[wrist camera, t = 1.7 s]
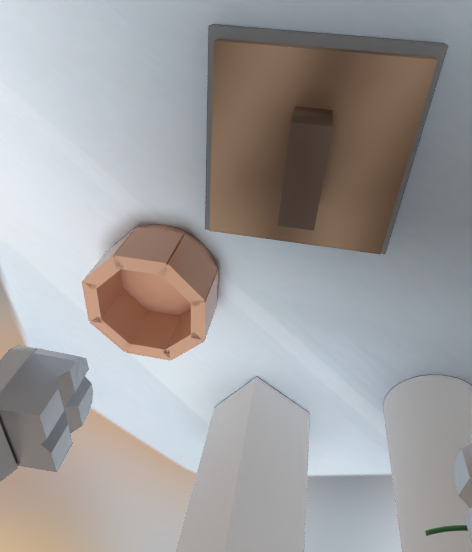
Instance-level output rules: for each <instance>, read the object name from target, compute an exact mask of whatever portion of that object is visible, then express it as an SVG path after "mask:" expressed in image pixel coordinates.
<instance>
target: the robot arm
mask: <svg viewBox="0 0 472 552" xmlns="http://www.w3.org/2000/svg"><path fill="white" fill-rule="evenodd" d="M88 370H89V368H88V364H87V360H86V358H83V357H79V356H74V355H69V354H64V353H59V352H54V351H49V350H44V349H37V348H32V347H27V346H21V345H17V346H15V347H13V348H11V349H10V350H9V351H8V352H7V353H6V354H5V356H3V358H2V359H1V360H0V482H1V481H2V480H3V479H4V478H6V477H7V476H8V475H9V474H11V473H12V472H13V471H15V470H16V469H17V468H18V467H17V466H24V467H29V468H36V469H41V470H47V471H54V472H57V471H58V469H59V468H60V466H61V464H62V462H63V460H64V458H65V457H66V455H67V453H68V451H69V449H70V447H71V446H72V439H71V433H72V432H73V431H75V430H76V429H78V428H80V427H81V426H82V425H83V423H84V421H85V420H86V417H87V416H88V413H89V410H90V407H91V403H92V396H93V390H92V384H91V382H90V381H89V380H88V379H87V378H86V377H85V375H86V373H87V371H88ZM470 438H471V441H472V431H471V433H470ZM454 477H455V485H456V488H457V492H458V496H459V497H460V498H461V499H462V500H463V501H464V502H465V504H466V505H467V506H468V507H469V510H468V512H467V514H466V516H465V522H466V525H467V529H468V532H469V536H470V539H471V543H472V443H471V444H469V445H467V446H465V447H462V448H461V449H460V451H459V453H458V455H457V457H456V460H455V467H454Z"/></svg>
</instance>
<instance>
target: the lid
mask: <svg viewBox="0 0 472 552" xmlns="http://www.w3.org/2000/svg"><path fill="white" fill-rule="evenodd" d="M437 61H438V60H437V59H435V58H434V57H429V56H417V55H405V54H393V53H382V52H370V51H358V50H346V49H335V48H323V47H311V46H300V45H288V44H276V43H264V42H253V41H241V40H229V39H217V40H215V41H214V63H213V105H212V146H211V188H210V230H209V231H215V232H222V233H229V234H237V235H244V236H251V237H259V238H266V239H273V240H280V241H288V242H295V243H302V244H310V245H317V246H324V247H332V248H339V249H346V250H353V251H361V252H368V253H375V254H381V251H382V247H383V244H384V241H385V237H386V234H387V230H388V227H389V224H390V220H391V217H392V213H393V210H394V207H395V203H396V200H397V196H398V193H399V190H400V186H401V183H402V180H403V176H404V173H405V169H406V166H407V163H408V159H409V156H410V152H411V149H412V146H413V142H414V139H415V135H416V132H417V129H418V125H419V122H420V118H421V115H422V112H423V108H424V105H425V101H426V98H427V95H428V91H429V88H430V84H431V81H432V78H433V74H434V71H435V68H436V64H437Z"/></svg>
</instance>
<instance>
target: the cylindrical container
mask: <svg viewBox="0 0 472 552" xmlns="http://www.w3.org/2000/svg"><path fill="white" fill-rule="evenodd" d="M383 411H384V419H385V426H386V434H387V441H388V449H389V456H390V464H391V471H392V479H393V486H394V494H395V502H396V509H397V517H398V524H399V532H400V539H401V548H402V552H472V543H471V539H470V536H469V532H468V529H467V525H466V522H465V516H466V514H467V512H468V510H469V507H468V506H467V505H466V504H465V502H464V501H463V500H462V499H461V498H460V497H459V496H458V492H457V488H456V485H455V477H454V467H455V460H456V457H457V455H458V453H459V451H460V449H461V448H462V447H465V446H467V445H469V444H471V443H472V441H471V438H470V433H471V431H472V386H471V385H470V384H468V383H467V382H465V381H462V380H460V379H457V378H454V377H450V376H443V375H425V376H418V377H414V378H411V379H408V380H405V381H403V382H401V383H399V384H398V385H396V386H395V387H393V388H392V389H391V390H390V391H389V392H388V394H387V395H386V397H385V399H384V403H383Z"/></svg>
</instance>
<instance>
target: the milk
mask: <svg viewBox="0 0 472 552" xmlns="http://www.w3.org/2000/svg"><path fill="white" fill-rule="evenodd" d="M309 422H310V414H309V413H308V412H307V411H305V410H304V409H302V408H301V407H300V406H298V405H297V404H295V403H294V402H292V401H291V400H290V399H288V398H287V397H285V396H284V395H282V394H281V393H279V392H278V391H277V390H275V389H274V388H272V387H271V386H269V385H268V384H267V383H265V382H264V381H262V380H261V379H259V378H258V377H255V378H254V379H253V380H251V381H250V382H248V383H247V384H246V385H244V386H243V387H242V388H240V389H239V390H238V391H236V392H235V393H234V394H232V395H231V396H229V397H228V398H227V399H225V400H224V401H223V402H221V403H220V404H219V405H217V406H216V407H215V408H214V411H213V415H212V419H211V423H210V426H209V430H208V434H207V438H206V441H205V445H204V449H203V453H202V456H201V460H200V464H199V468H198V471H197V475H196V479H195V482H194V487H193V490H192V494H191V498H190V501H189V505H188V509H187V513H186V516H185V520H184V524H183V527H182V531H181V535H180V539H179V542H178V546H177V550H176V552H304V543H305V519H306V493H307V471H308V446H309Z"/></svg>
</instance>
